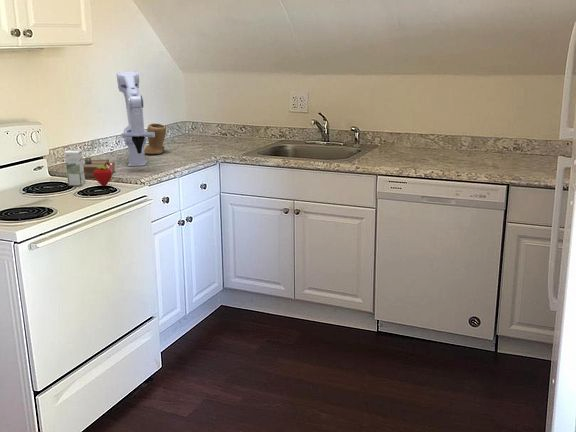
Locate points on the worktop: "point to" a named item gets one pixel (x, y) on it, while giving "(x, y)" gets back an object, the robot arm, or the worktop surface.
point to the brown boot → (156, 139)
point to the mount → (93, 167)
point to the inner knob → (111, 165)
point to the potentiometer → (88, 159)
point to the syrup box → (74, 167)
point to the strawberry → (102, 175)
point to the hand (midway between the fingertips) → (139, 153)
